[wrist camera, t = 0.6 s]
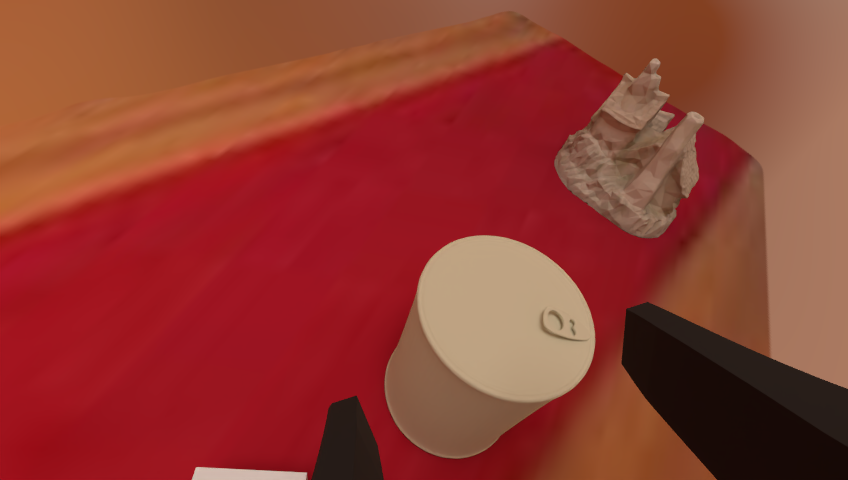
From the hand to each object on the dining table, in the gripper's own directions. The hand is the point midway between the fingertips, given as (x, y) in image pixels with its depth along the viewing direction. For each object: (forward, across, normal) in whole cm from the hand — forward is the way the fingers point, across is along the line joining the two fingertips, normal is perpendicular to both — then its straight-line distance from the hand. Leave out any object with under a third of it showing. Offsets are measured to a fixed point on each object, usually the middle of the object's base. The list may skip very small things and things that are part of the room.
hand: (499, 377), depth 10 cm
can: (+12, 0, +15) cm, 19 cm away
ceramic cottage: (+33, -28, +15) cm, 46 cm away
